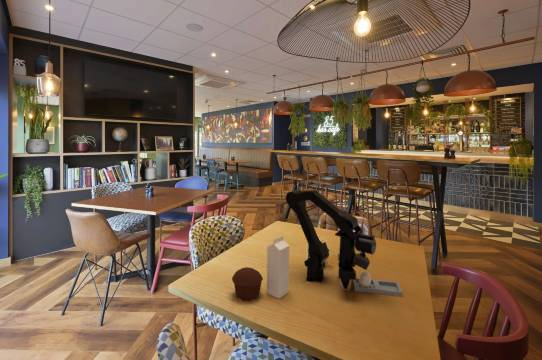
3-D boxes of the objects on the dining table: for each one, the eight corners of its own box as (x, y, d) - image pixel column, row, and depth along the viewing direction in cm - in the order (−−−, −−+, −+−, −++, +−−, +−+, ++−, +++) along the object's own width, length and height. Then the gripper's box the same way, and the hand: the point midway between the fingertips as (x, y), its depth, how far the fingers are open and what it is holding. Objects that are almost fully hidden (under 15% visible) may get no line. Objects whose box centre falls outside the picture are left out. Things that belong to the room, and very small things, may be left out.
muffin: (267, 291, 113) (268, 267, 111) (254, 306, 103) (254, 279, 101) (241, 284, 118) (241, 261, 116) (226, 298, 108) (225, 272, 106)
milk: (288, 292, 112) (290, 237, 109) (278, 299, 107) (280, 242, 104) (276, 287, 116) (277, 234, 113) (266, 293, 111) (267, 238, 108)
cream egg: (359, 289, 114) (360, 274, 113) (358, 283, 118) (359, 269, 117) (371, 290, 113) (372, 275, 112) (369, 284, 117) (370, 270, 117)
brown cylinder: (339, 290, 114) (340, 275, 113) (339, 285, 118) (340, 270, 117) (351, 291, 113) (352, 276, 112) (350, 286, 117) (351, 271, 116)
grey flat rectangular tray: (354, 291, 113) (354, 287, 113) (353, 281, 121) (353, 277, 120) (401, 297, 109) (402, 292, 109) (397, 286, 117) (397, 282, 117)
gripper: (371, 259, 102) (369, 300, 105) (366, 241, 120) (364, 276, 123) (339, 256, 105) (337, 297, 107) (338, 239, 123) (337, 274, 125)
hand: (345, 285), depth 115 cm, fingers closed on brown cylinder, 4 cm apart
